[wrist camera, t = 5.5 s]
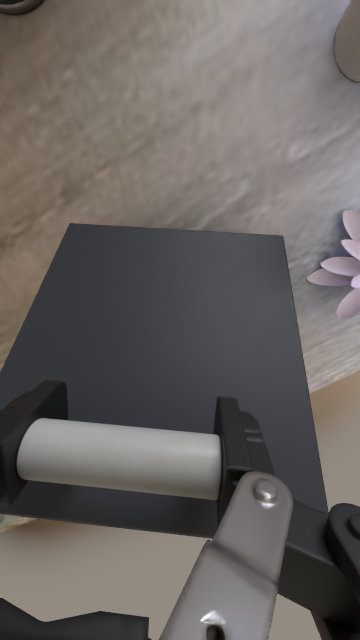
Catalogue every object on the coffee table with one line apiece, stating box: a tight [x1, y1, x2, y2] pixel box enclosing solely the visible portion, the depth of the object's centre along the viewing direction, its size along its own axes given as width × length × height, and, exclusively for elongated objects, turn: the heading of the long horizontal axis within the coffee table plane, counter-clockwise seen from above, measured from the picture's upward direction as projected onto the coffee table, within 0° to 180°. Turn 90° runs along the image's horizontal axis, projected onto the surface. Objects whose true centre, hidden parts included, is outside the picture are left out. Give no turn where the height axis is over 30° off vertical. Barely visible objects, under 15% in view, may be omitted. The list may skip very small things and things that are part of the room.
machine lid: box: [0, 223, 329, 539], centre depth 14 cm, size 17×16×5 cm
